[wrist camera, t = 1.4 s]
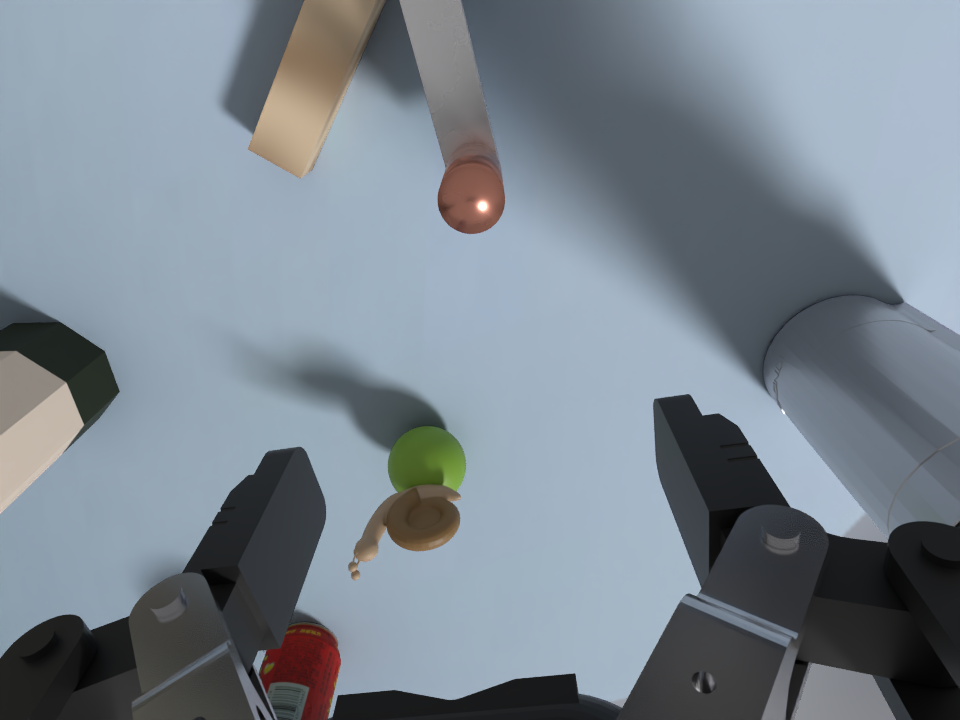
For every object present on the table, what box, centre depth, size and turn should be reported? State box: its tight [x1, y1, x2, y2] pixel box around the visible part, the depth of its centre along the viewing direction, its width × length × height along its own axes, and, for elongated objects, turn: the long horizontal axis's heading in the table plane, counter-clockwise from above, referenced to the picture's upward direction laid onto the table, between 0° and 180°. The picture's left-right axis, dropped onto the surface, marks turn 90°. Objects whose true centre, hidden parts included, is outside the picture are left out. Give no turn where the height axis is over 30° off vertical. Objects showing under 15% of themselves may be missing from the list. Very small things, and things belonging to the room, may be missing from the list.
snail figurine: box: [348, 426, 466, 580], centre depth 38 cm, size 5×6×12 cm
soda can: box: [259, 622, 341, 720], centre depth 49 cm, size 7×7×12 cm
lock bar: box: [399, 0, 505, 234], centre depth 24 cm, size 16×4×9 cm, turn 15°
